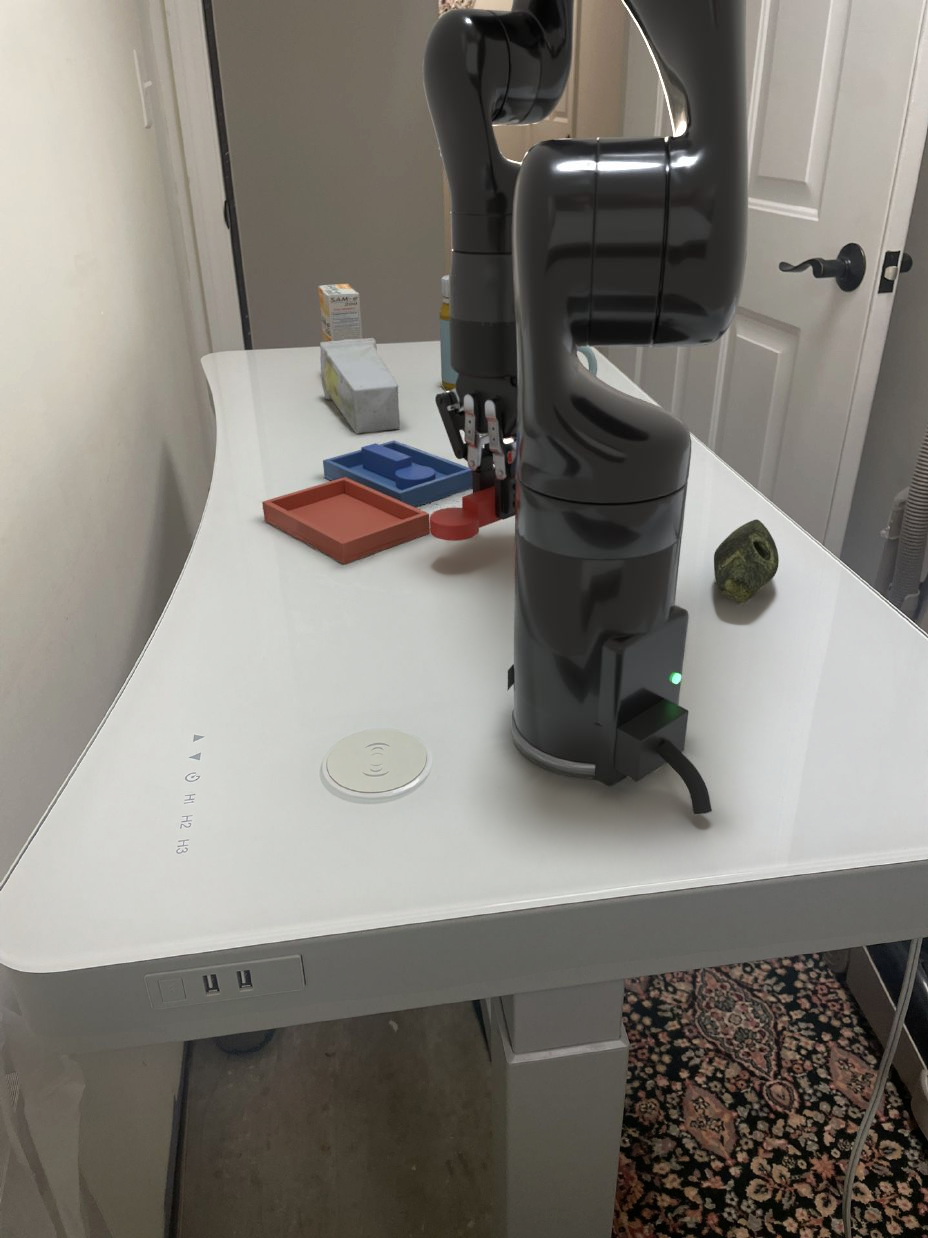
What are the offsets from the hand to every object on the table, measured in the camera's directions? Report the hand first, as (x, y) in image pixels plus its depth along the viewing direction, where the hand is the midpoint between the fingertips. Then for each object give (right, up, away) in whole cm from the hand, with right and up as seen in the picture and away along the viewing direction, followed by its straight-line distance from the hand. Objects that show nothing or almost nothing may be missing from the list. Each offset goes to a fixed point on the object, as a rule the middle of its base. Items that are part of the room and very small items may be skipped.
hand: (495, 511), depth 80 cm
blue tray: (-10, +5, +17) cm, 20 cm away
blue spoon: (-10, +6, +17) cm, 20 cm away
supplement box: (-21, +26, +55) cm, 64 cm away
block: (-16, +18, +40) cm, 47 cm away
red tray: (-14, -1, +6) cm, 16 cm away
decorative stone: (+20, -7, -6) cm, 22 cm away
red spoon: (-1, -1, -1) cm, 2 cm away
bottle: (-3, +24, +50) cm, 56 cm away
